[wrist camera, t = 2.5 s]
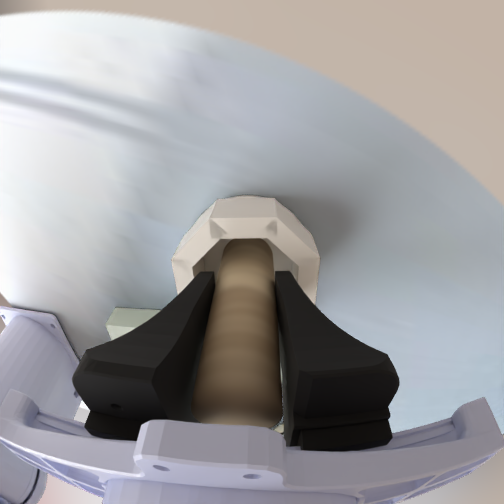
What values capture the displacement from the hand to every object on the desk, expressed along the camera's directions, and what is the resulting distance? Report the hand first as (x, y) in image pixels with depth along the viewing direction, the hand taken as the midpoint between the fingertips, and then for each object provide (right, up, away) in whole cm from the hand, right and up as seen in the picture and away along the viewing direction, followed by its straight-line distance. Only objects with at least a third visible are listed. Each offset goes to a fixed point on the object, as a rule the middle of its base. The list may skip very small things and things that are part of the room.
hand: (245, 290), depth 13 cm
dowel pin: (0, +1, +3) cm, 3 cm away
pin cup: (0, +2, +3) cm, 3 cm away
